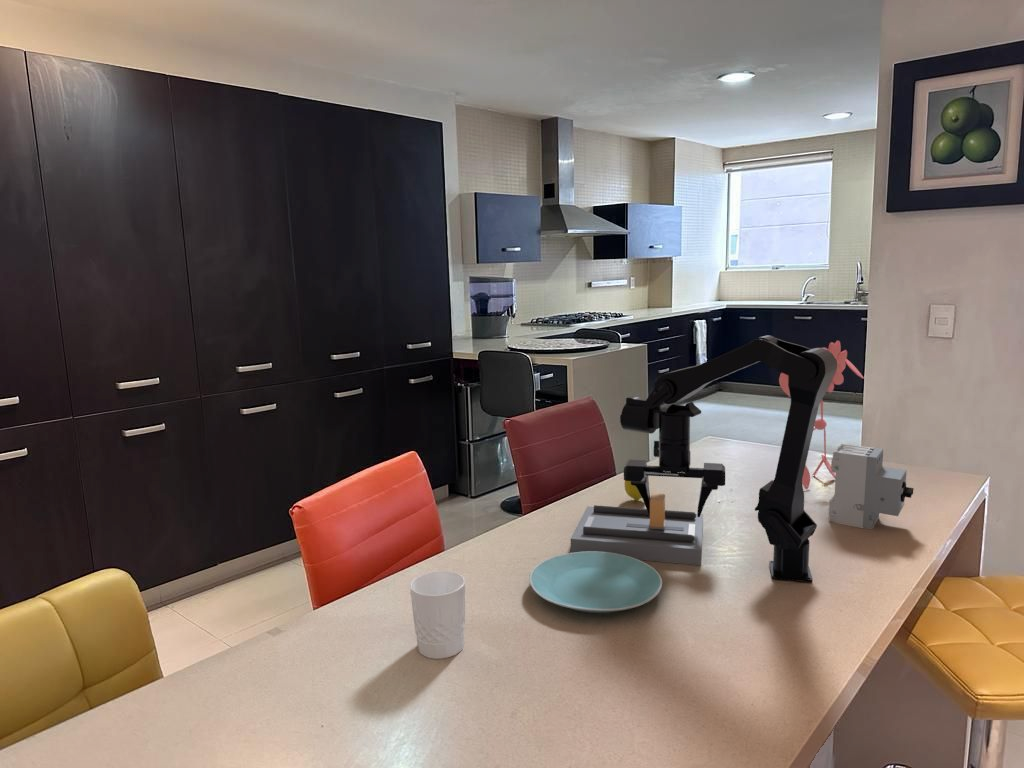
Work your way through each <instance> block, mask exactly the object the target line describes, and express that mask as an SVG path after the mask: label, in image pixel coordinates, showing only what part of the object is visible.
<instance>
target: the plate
mask: <svg viewBox="0 0 1024 768" xmlns="http://www.w3.org/2000/svg"><path fill="white" fill-rule="evenodd" d="M529 585H530V587H531V588H532V590H533V591H534V592H535V594H537V595H538V596H539V597H540V598H541V599H543V600H544V601H546V602H549V603H551V604H553V605H556V606H559V607H563V608H567V609H569V608H570V610H573V611H577V612H582V613H591V614H608V613H615V612H619V611H620V612H621V611H627V610H630V609H634V608H638V607H641V606H642V605H645V604H647V603H648V602H650V601H652V600H653V599H654V598H656V597H657V596H658V595H659V593H660V592H661V590H662V587H663V579H662V576H661V575H660V573H659V572H658V571H657V570H656V569H655V568H654V567H653V566H651V565H650V564H648V563H646V562H644V561H643V560H638V559H635V558H632V557H629V556H625V555H621V554H616V553H610V552H598V551H585V552H574V553H571V552H568V553H564V554H559V555H556V556H552V557H549V558H547V559H545V560H543V561H541V562H540V563H537V565H536V566H534V568H532V570H531V572H530V574H529Z"/></svg>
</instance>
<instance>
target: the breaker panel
mask: <svg viewBox="0 0 1024 768" xmlns="http://www.w3.org/2000/svg"><path fill="white" fill-rule="evenodd" d="M695 514H696V518H695V519H683V518H669V517H665V520H666V525H665V530H664V529H651V528H649V523H650V516H641V515H627V514H614V513H600V512H594V506H586V508H585V510H584V512H583V514H582V516H581V518H580V519H579V521H578V523H577V525H576V527H575V529H574V532H573V534H572V536H571V537H570V553H574V552H585V551H598V552H610V553H616V554H621V555H625V556H629V557H632V558H635V559H638V560H640V561H647V562H648V561H651V562H660V563H661V562H662V563H674V564H684V565H697V566H702V561H703V560H702V556H703V555H702V553H703V533H704V513H703V514H702V513H701V515H700V517H697V516H698V513H695ZM584 526H585V527H598V528H611V529H623V530H636V531H649V532H662V533H675V534H687V535H693V536H694V538H695V540H694V541H693V542H678V541H666V540H654V539H641V538H629V537H617V536H604V535H592V534H583V527H584Z"/></svg>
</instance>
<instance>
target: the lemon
mask: <svg viewBox="0 0 1024 768" xmlns="http://www.w3.org/2000/svg"><path fill="white" fill-rule="evenodd" d="M624 491H625V492H626V495H628V496H629V497H630V498H631V499H633V500H634V501H636V502H637V501H640V500H641V499H643V498H642V496H641V494H640V493H639V491H638V489H637V487H636V486H635V485H631V481H625V480H624Z"/></svg>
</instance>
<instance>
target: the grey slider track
mask: <svg viewBox="0 0 1024 768" xmlns="http://www.w3.org/2000/svg"><path fill="white" fill-rule="evenodd" d="M593 507H594V512H600V513H614V514H627V515H641V516H650V514H648V511H647V509H646V508H638V507H623V506H608V505H596V504H595V505H593ZM696 514H697V513H696V512H695V511H694V512H693V511H684V510H683V511H682V510H667V509H665V517H669V518H683V519H695V518H696ZM583 534H592V535H604V536H617V537H629V538H641V539H654V540H666V541H678V542H693V541H694V540H695V538H694V536H693V535H687V534H675V533H662V532H649V531H636V530H623V529H611V528H598V527H585V526H584V527H583Z"/></svg>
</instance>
